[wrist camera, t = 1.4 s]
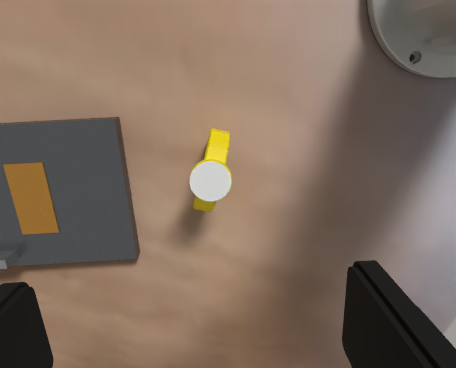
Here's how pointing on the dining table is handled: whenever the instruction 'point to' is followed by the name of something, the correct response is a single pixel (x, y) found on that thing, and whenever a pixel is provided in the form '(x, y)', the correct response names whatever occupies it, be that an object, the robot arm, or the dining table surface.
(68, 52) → the dining table surface
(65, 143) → the gray fixture board
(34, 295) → the robot arm
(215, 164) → the watch
